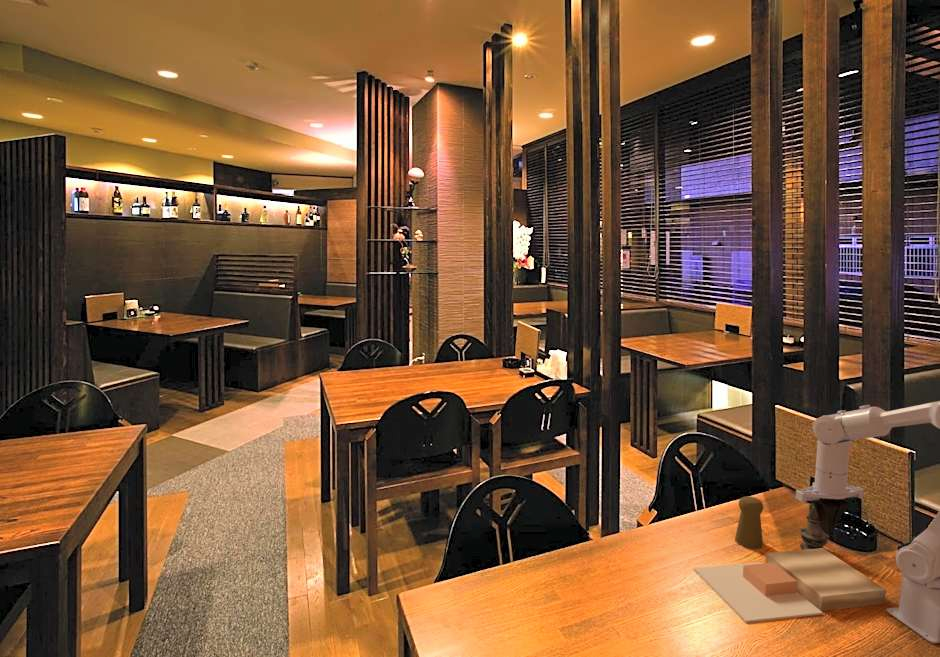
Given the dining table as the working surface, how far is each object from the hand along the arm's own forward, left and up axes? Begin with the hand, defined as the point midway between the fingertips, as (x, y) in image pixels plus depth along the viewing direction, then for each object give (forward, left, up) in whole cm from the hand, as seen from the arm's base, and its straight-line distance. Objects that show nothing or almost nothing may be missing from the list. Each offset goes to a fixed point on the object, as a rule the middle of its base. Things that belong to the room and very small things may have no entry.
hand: (826, 530), depth 119 cm
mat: (-4, +20, -9) cm, 22 cm away
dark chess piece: (+9, -5, -10) cm, 14 cm away
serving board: (-4, +4, -9) cm, 11 cm away
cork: (+14, +8, -10) cm, 19 cm away
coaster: (-3, +15, -8) cm, 17 cm away
